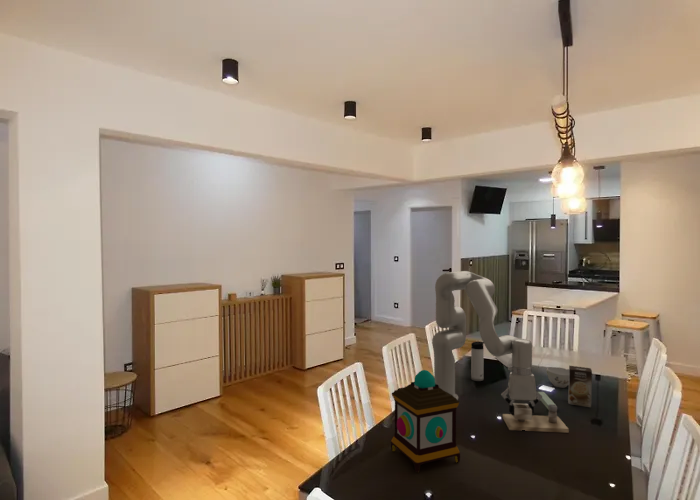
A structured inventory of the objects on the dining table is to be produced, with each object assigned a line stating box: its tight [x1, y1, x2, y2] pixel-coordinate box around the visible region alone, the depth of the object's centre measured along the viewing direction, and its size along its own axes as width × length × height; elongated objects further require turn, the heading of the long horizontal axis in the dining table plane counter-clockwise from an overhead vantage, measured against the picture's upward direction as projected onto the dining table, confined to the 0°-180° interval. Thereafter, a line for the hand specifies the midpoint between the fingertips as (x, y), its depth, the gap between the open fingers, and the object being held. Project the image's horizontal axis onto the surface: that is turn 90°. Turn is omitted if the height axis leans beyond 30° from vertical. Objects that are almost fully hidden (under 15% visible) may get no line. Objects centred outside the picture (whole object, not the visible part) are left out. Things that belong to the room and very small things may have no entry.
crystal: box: [494, 353, 512, 368], centre depth 266 cm, size 7×7×24 cm
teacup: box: [546, 366, 569, 389], centre depth 225 cm, size 15×12×8 cm
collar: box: [513, 402, 533, 420], centre depth 178 cm, size 6×6×4 cm
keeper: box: [537, 391, 558, 413], centre depth 184 cm, size 3×18×2 cm, turn 173°
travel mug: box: [470, 341, 485, 382], centre depth 235 cm, size 6×7×20 cm
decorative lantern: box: [390, 369, 461, 473], centre depth 152 cm, size 20×20×30 cm
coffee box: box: [567, 365, 593, 408], centre depth 200 cm, size 9×6×16 cm
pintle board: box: [502, 410, 570, 434], centre depth 178 cm, size 22×12×6 cm, turn 83°
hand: (521, 414), depth 178 cm, fingers closed on collar, 6 cm apart
